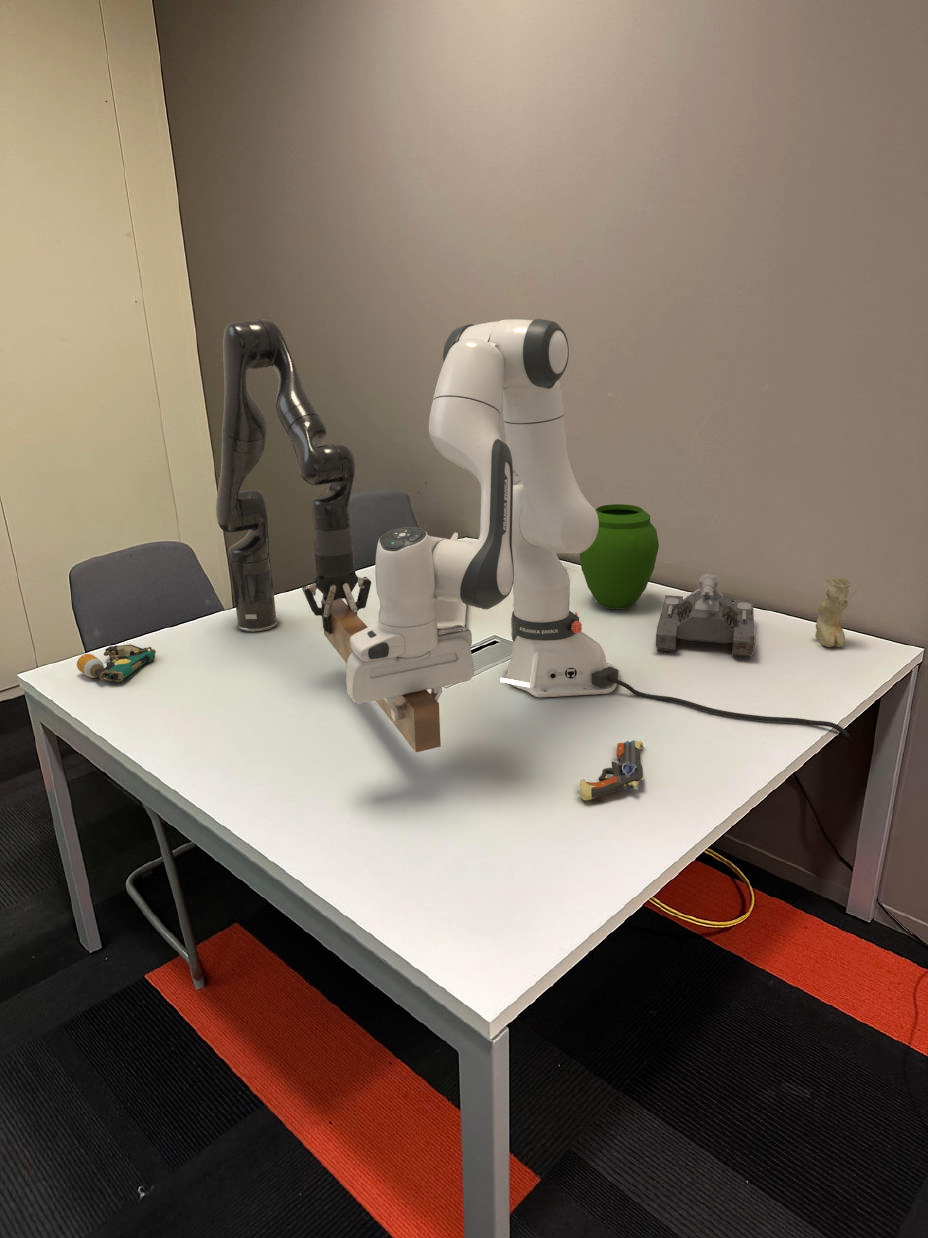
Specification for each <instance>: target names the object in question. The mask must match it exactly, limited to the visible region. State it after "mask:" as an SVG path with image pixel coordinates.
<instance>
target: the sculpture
mask: <svg viewBox="0 0 928 1238" xmlns="http://www.w3.org/2000/svg"><path fill="white" fill-rule="evenodd" d="M826 581H827V586H826V588H825V590H824V593H825V595H826V596H827V598H826V600H824V601H822V602H821V603H820V604H819V605H818V606H817V609H816V610H817V612H818V614H819V616H818V617H817V619H816V623H815V630H816V631H815V634H814V635H815V639H817V640H819V642H820V643H821V644H822V645H823V646H825V647H827V648H832V647H834V646H835V647H843V646H844V645H845V643H846V642H845V641H846V636H845V632H844V630H843V626H842V624H841V622H840V621H841V617H842V615H843V612H844V610H845V609H846V608H847V606H848V604H849V603H848V602H849V601H847V598H848V597H849V592H850V586H851V585H852V582H850V580H848V579H847V578H845V577H841V576H840V577H835V578H831V577H827V578H826Z"/></svg>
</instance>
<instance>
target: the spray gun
mask: <svg viewBox="0 0 928 1238" xmlns="http://www.w3.org/2000/svg"><path fill="white" fill-rule="evenodd" d="M156 654H157V650H156V649H154V648H152V647H151V646H148V647H143V648H142V647H139V646H136V645H134V644H131V643H130V644H123V645H114V646H112V645H110V646H108V647H106V648H105V649H104V652H103V656H104V657H109V661H108V662H106V666H105V665H104V663H103V661H102V660H101V659H99V658H98V657H96V656H95V655H94V654H91V653H85V654H81V655H80V656H79V657H78V659H77V661H76V668H77V670H78V671H79V672H80V673H82V674H83V675H85V676H86V677H88V678H91V679H94V678H99V679H100V680H101V681H103V682H104V681H109V682H110V681H111V682H123V681H124V679H126V678H127V677H129V676H130V675H131V674H133V672H135V671H136V670H137V669H138V668H140V667H141V666H143V665H145V664H146V663H149V662H151V661H152V660H153V659H155V657H156ZM119 657H124V658H121V659H119Z"/></svg>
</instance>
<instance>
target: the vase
mask: <svg viewBox="0 0 928 1238" xmlns="http://www.w3.org/2000/svg"><path fill="white" fill-rule="evenodd" d="M594 509H595V511H596V513H597V515H598V519H599V529H598V534H597V537H596V539H595V541H594V542H593V544H592V545H591V546H590V547H589V548H588V549H587V550H586V551H584V552H582V553H579V562H580V569H581V571H582V574H583V577H584V580H585V583H586V585H587V588H588V590H589V591H590V594H592V597H593V598H594V600H595V601H596V602H597V603H598V604H599V605H600V606H602V607H604V608H606V609H609V610H625V609H628V608H630V607H632V606H634V604H636V602H638V601H639V599H640V597H641V596H642V595H643V593H644V592H645V590H646V588H647V586H648V584H649V581H650V579H651V577H652V574H653V572H654V570H655V566H656V562H657V557H658V552H659V548H660V544H659V543H660V542H659V537H658V531H657V528H656V527H655V526H654V524H653V523H652V522H651V515H650V514H649V512H647V511H645V510H644V509H643V508H642V507H641V506H638V505H633V504H622V503H621V504H619V503H616V504H615V503H614V504H604V505H601V506H598V507H597V508H594Z"/></svg>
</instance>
